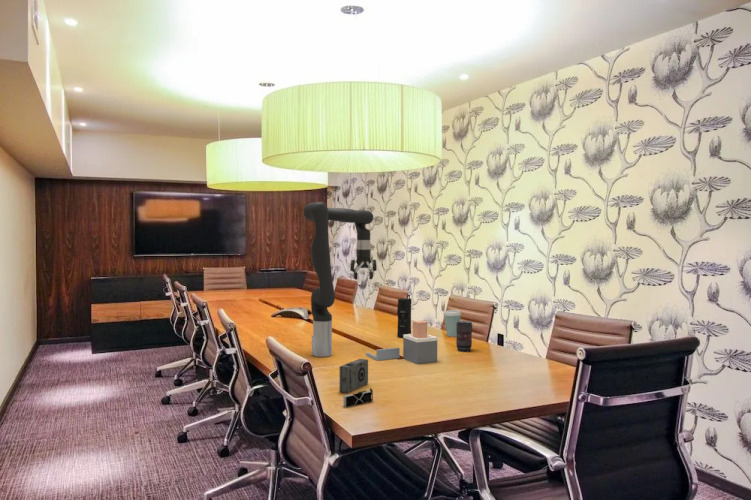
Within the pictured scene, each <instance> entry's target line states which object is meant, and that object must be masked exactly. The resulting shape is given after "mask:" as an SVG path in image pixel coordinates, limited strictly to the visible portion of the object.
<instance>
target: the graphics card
mask: <svg viewBox="0 0 751 500" xmlns="http://www.w3.org/2000/svg"><path fill="white" fill-rule="evenodd" d="M373 392H374V390H373V388H371V387H370V388H369V390H367V389H365V390H359V391H357V392H356V393H351V394H345V395H343V407H345V408H350V407H354V406H358V405H362V404H367V403H366V402H368V403H372V401H373V402H374V393H373Z"/></svg>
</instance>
